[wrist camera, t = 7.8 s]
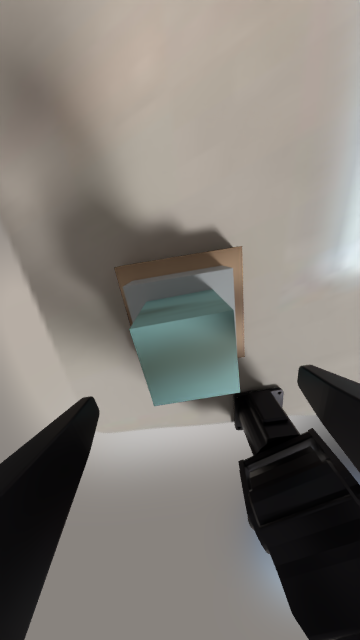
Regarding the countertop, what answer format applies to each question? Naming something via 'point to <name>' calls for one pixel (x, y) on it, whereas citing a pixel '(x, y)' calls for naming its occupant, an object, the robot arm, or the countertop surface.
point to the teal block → (187, 347)
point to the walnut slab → (189, 263)
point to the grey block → (180, 287)
